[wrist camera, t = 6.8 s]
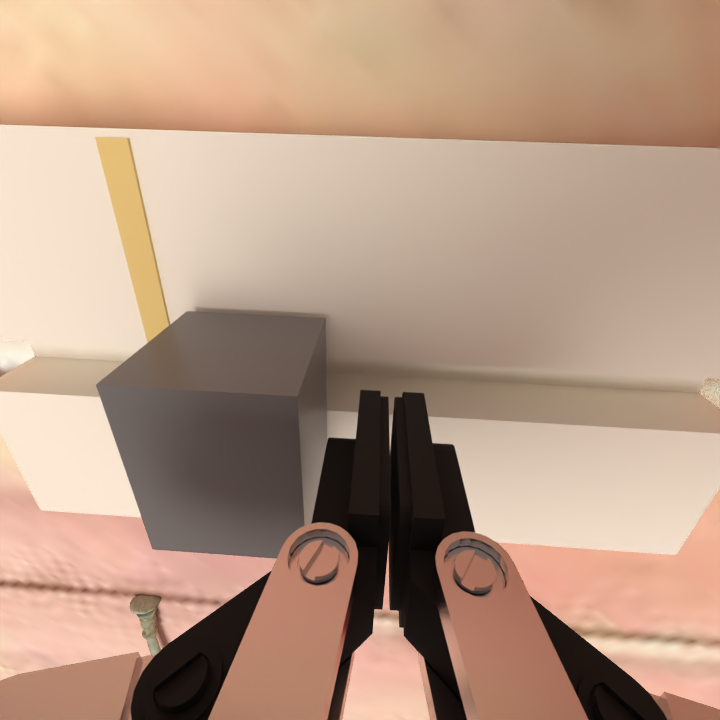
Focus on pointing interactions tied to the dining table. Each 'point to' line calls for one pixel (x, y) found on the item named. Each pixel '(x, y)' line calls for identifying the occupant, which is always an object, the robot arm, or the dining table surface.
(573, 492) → the slider console
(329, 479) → the robot arm
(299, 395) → the fader knob
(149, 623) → the soupspoon
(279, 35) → the dining table surface
